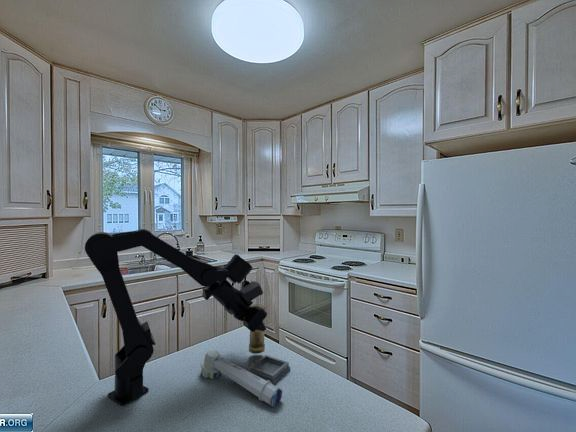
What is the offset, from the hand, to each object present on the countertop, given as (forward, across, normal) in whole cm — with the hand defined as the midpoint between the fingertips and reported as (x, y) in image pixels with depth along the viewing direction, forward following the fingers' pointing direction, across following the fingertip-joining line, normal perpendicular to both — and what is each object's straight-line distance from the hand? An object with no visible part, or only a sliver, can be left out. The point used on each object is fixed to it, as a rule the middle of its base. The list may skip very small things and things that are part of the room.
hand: (261, 327), depth 85 cm
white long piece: (-2, -10, +15) cm, 19 cm away
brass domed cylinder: (+4, 0, +6) cm, 7 cm away
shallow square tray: (+5, -9, +8) cm, 13 cm away
